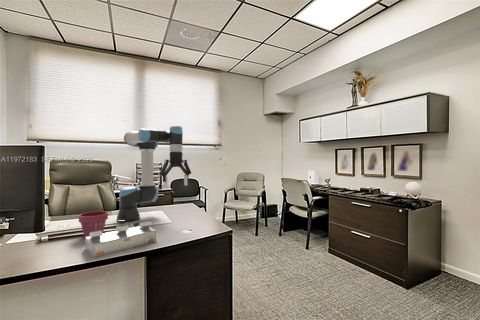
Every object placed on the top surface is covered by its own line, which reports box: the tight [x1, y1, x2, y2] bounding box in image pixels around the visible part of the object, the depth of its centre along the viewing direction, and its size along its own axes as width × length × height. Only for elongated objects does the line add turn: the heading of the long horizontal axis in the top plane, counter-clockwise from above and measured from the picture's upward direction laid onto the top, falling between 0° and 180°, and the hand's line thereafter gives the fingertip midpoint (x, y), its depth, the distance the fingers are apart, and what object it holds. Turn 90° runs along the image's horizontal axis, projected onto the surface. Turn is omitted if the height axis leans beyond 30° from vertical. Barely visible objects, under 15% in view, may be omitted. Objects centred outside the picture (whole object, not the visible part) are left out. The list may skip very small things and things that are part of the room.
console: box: [84, 225, 157, 258], centre depth 121 cm, size 14×30×7 cm, turn 134°
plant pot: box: [78, 210, 109, 238], centre depth 136 cm, size 14×14×13 cm
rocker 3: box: [139, 220, 153, 227], centre depth 130 cm, size 8×4×2 cm, turn 44°
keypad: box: [129, 221, 144, 228], centre depth 147 cm, size 10×4×15 cm
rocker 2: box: [115, 224, 130, 232], centre depth 121 cm, size 8×4×2 cm, turn 44°
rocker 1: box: [89, 230, 102, 237], centre depth 113 cm, size 8×4×2 cm, turn 44°
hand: (176, 186), depth 143 cm, fingers open, 13 cm apart
